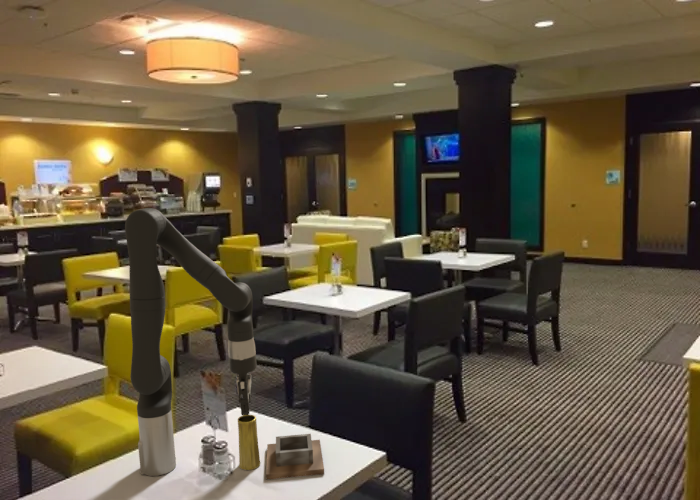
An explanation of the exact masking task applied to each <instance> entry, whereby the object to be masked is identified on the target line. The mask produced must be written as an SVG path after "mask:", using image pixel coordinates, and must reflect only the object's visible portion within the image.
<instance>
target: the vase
mask: <svg viewBox="0 0 700 500" xmlns="http://www.w3.org/2000/svg"><path fill="white" fill-rule="evenodd" d="M237 427H238V428H237V430H238V453H239V454H238V455H239V457H238V458H239V464H238V466H239V468H240V469H241V470H244V471H252V470H255V469H257V468H258V467H260V465H261V459H260V449H259V438H258V425H257V417H256V416H255V415H254V414H249V415H241V416H239V417H238V418H237Z"/></svg>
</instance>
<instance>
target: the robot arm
mask: <svg viewBox="0 0 700 500" xmlns="http://www.w3.org/2000/svg"><path fill="white" fill-rule="evenodd" d="M124 223H125V224H124V232H125V233H124V234H125V238H126V239H125V240H126V247H127V252H128V264H129V268H128V269H129V274H128V275H129V310H130V311H129V312H130V326H131V329H130V330H131V340H132V341H131V342H132V344H131V345H132V352H131V353H132V354H131V365H130V382H131V385H132V386H133V388H134V390H135V391H136V392H137V393H139V395H138V396H139V397H138V401H137V405H136V413H137V423H138V424H137V425H138V432H139V433H138V434H139V440H138V443H137V447H138V457H139V467H140V475H145V476H146V475H147V476H151V477H157V476H163V475H166V474H169V473H170V472H172V471H173V470H174V469H175V468H176V466H177V461H176V460H177V458H176V450H175V449H176V448H175V439H174V438H175V437H174V425H173V424H174V423H173V413H172V401H173V383H172V371H171V370H172V369H171V365H170V363H169V361H168V360H167V358H165V357H164V356H163V355H161V350H160V349H161V347H160V345H161V337H162V333H163V327H164V324H165V317H166V291H165V286H164V282H163V278H162V275H161V273H160V270H159V269H160V268H159V266H158V261H157V260H158V258H157V255H158V254H157V252H158V251H157V249H158V247H157V246H160V247H161V248H163V249H164V250H165V251H166V252H168V253H169V254H170V255H171V256H172V257H173V258H174V259H175V260H176V261H177V263H178V264H179V265H180V266H181V268H182V269H184V271H185V272H186V274H188V275H189V276H190V277H191V278H192V279H194V280H195V281H196V282H198V283H199V284H200V285H201V286H202V287H204V288H205V289H207V290H208V291H209V292H210V294H211V295H212V296H213V297H214V298H215V299H216V300H217V301H218V302H219V304H220V305H222V307H224V308H226V309H227V310H228V313H229V317H228V321H227V324H226V327H227V339H228V340H227V343H228V344H227V351H228V363H229V364H228V365H229V371H230V372H231V373H232V374H237V376H236V386H237V395H238V403H239V404H240V414H241V416H243V415H250V405H249V404H250V403H251V402H252V398H251V397H252V396H251V389H252V374H251V373H252V372H254V371H256V370H257V368H258V365H257V354H256V353H257V352H256V342H255V340H254V339H255V337H254V325H253V308H254V307H253V305H254V304H253V303H254V301H253V299H254V298H253V292H252V289H251V288H250V286H249V284H247V283H245V282H240V281H239V282H238V281H237V282H234V281H233V280H232V279H230V277H228V276H227V272H226V270H225V269H223V268H222V267H221V266H220V265H219V264H217V262H215V261H213V260H212V259H211V258H210V257H209V256H207V255H206V254H205V253H203V252H202V251H201V250H200V249H198V248H197V247H196V246H195V245H194V244H193V243H192V242H190V241H189V240H188V239H187V238H186V237H185V236H184V235H183V234H182V233H181V232H180V231H179V230H178V229H177V228H176V227H175V226H174V225H173V223H172V222H171V221H170V220H169V219H167V217H166V216H165V215H164V214H163V213H162V212H161V211H160V210H159V209H156V208H153V207H145V208H139V209H136V210H133V211H132V212H130V213H129V214H128V216H127V218H126V220H125V222H124Z"/></svg>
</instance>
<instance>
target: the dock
mask: <svg viewBox="0 0 700 500" xmlns="http://www.w3.org/2000/svg"><path fill="white" fill-rule="evenodd" d="M321 446H322V445H321V440H320V439H312V435H311V433H305V434H304V433H303V434H291V435H279V436H275V443H268V444H267V446H266V447H267V449H266V450H267V451H266V466H265V467H266V468H265V470H266V471H265V472H266V473H265V475H266V476H265V477H266V480H267V481H268V480H277V479H285V478H287V479H288V478H297V477H308V476H317V475H319V476H320V475H325V466H324V458H323V453H322V452H323V451H322V447H321Z"/></svg>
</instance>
